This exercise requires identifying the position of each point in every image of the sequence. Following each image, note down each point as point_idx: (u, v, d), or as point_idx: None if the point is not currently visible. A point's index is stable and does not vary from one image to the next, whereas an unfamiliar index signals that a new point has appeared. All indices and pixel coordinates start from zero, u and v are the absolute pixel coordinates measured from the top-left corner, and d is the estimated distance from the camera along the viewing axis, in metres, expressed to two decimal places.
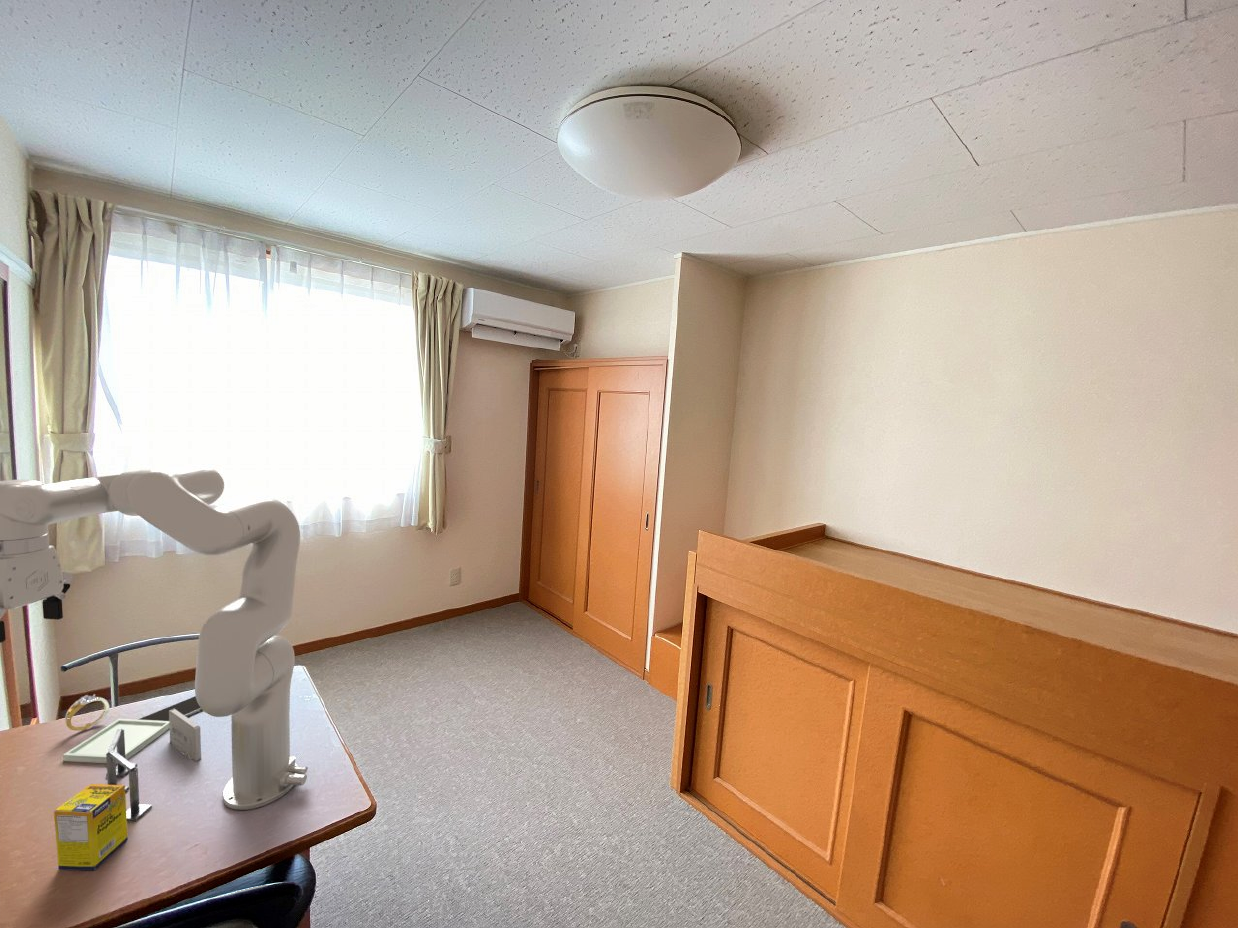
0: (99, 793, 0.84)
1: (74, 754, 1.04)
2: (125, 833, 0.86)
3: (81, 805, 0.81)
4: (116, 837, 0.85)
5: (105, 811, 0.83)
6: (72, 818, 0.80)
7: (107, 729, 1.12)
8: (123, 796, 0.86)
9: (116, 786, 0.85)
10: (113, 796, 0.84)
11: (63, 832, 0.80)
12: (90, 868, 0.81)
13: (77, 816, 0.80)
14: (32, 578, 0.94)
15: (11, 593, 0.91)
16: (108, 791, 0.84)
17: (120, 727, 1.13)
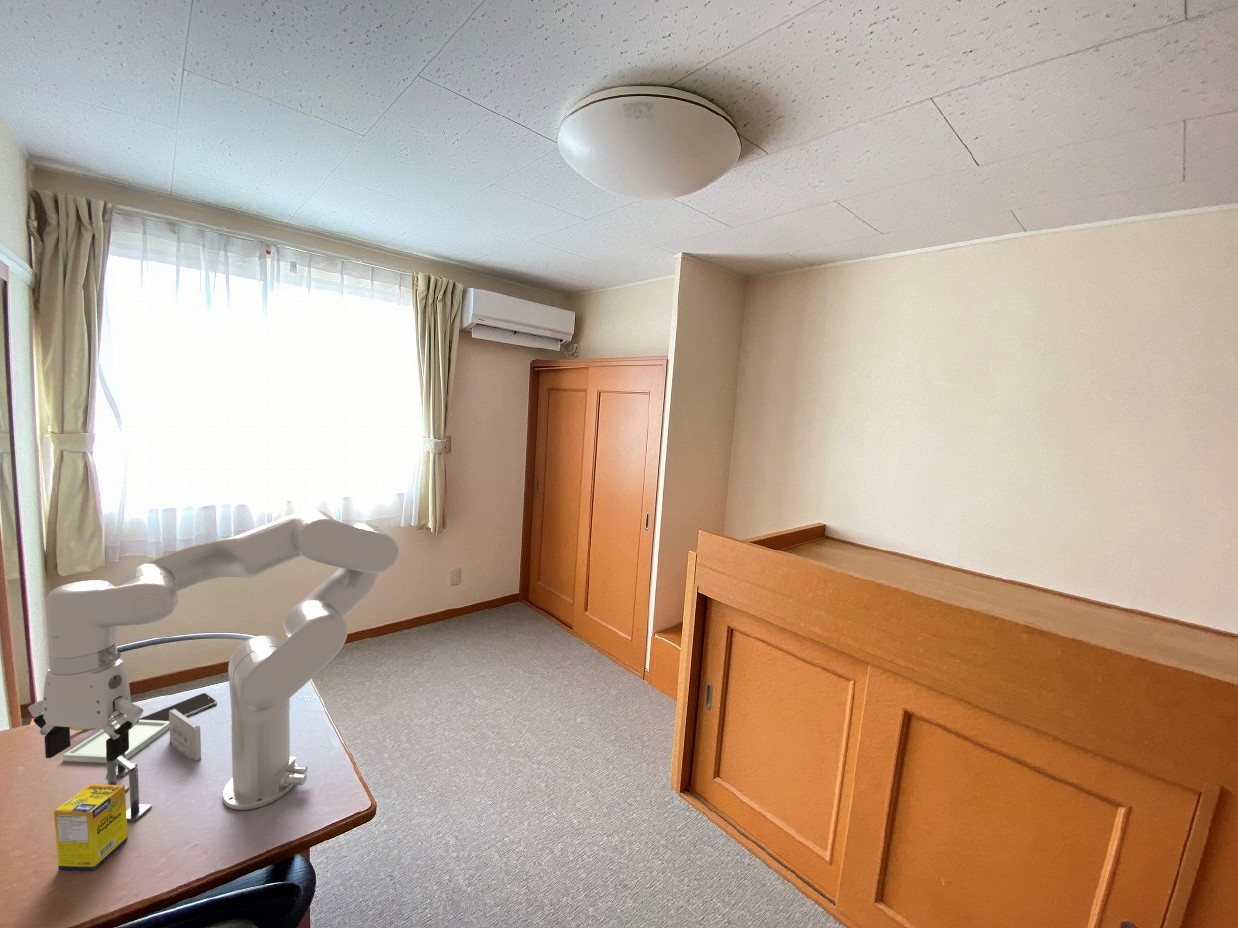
0: (99, 793, 0.84)
1: (74, 754, 1.04)
2: (125, 833, 0.86)
3: (81, 805, 0.81)
4: (116, 837, 0.85)
5: (105, 811, 0.82)
6: (72, 819, 0.80)
7: None
8: (123, 796, 0.86)
9: (116, 786, 0.85)
10: (113, 796, 0.84)
11: (63, 832, 0.80)
12: (90, 868, 0.81)
13: (77, 816, 0.80)
14: None
15: None
16: (108, 791, 0.84)
17: None
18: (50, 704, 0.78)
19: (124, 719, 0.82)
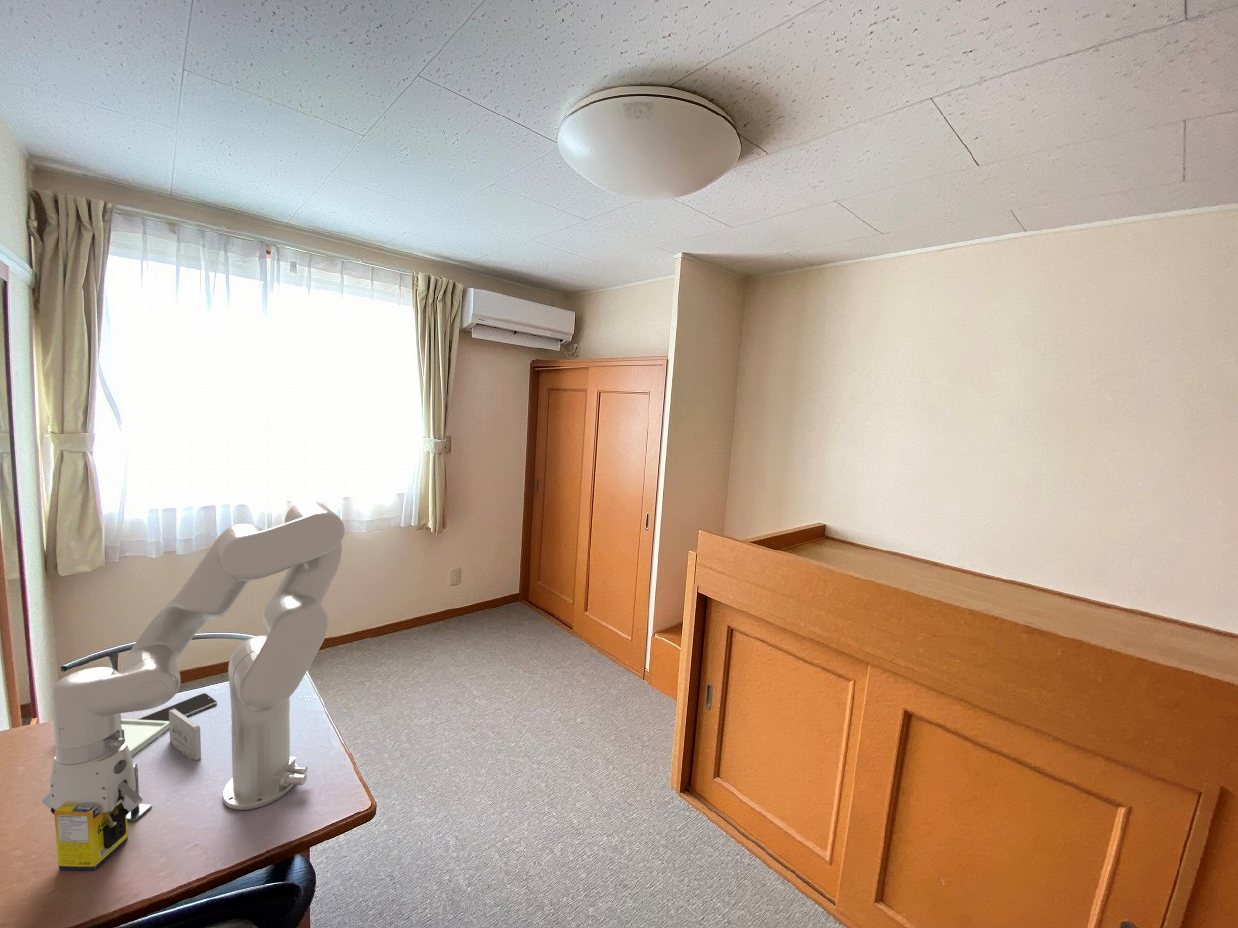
0: None
1: None
2: (125, 833, 0.86)
3: None
4: None
5: None
6: (72, 819, 0.80)
7: None
8: None
9: None
10: None
11: (63, 832, 0.80)
12: (90, 868, 0.81)
13: (77, 816, 0.80)
14: None
15: None
16: None
17: None
18: (57, 791, 0.80)
19: (123, 805, 0.84)
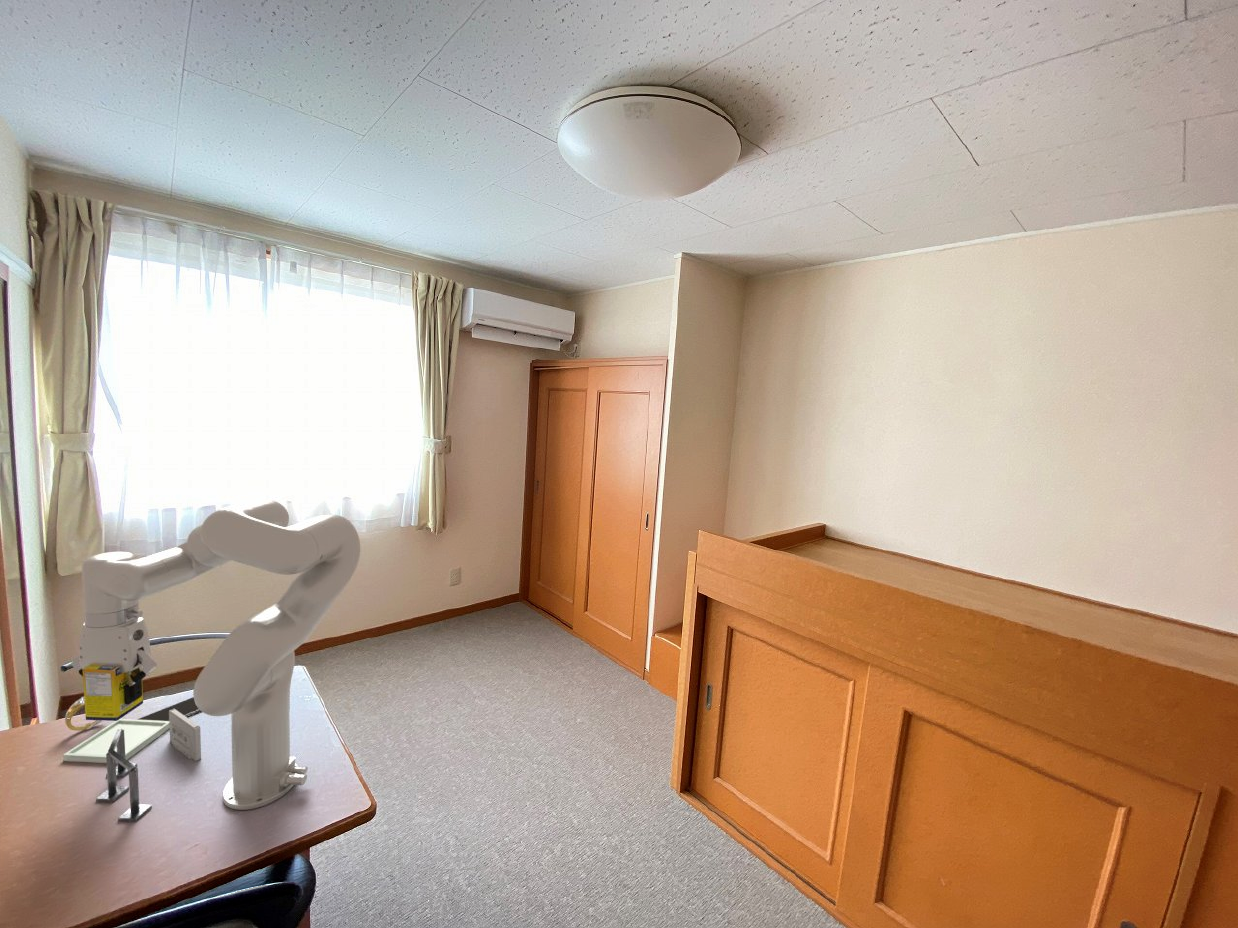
0: None
1: (74, 754, 1.04)
2: (141, 697, 1.02)
3: None
4: None
5: None
6: (98, 675, 0.95)
7: (107, 729, 1.12)
8: None
9: None
10: None
11: (90, 687, 0.95)
12: (113, 719, 0.96)
13: (102, 673, 0.95)
14: None
15: None
16: None
17: (120, 727, 1.13)
18: (85, 653, 0.95)
19: (140, 670, 1.00)
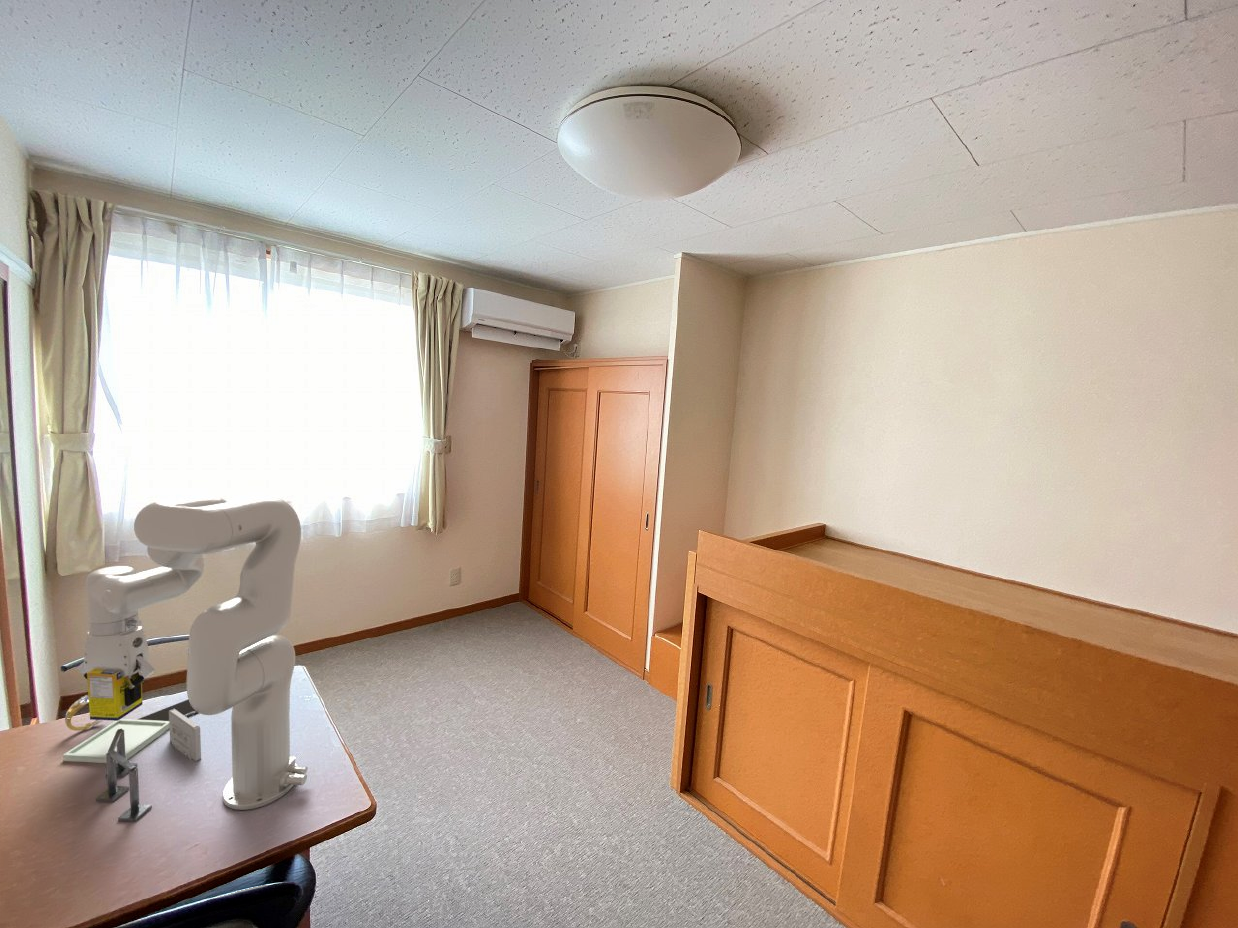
0: None
1: (74, 754, 1.04)
2: None
3: None
4: None
5: None
6: (101, 679, 1.04)
7: (107, 729, 1.12)
8: None
9: None
10: None
11: (94, 690, 1.05)
12: (114, 719, 1.05)
13: (105, 677, 1.04)
14: None
15: None
16: None
17: (120, 727, 1.13)
18: (89, 658, 1.05)
19: (140, 674, 1.09)
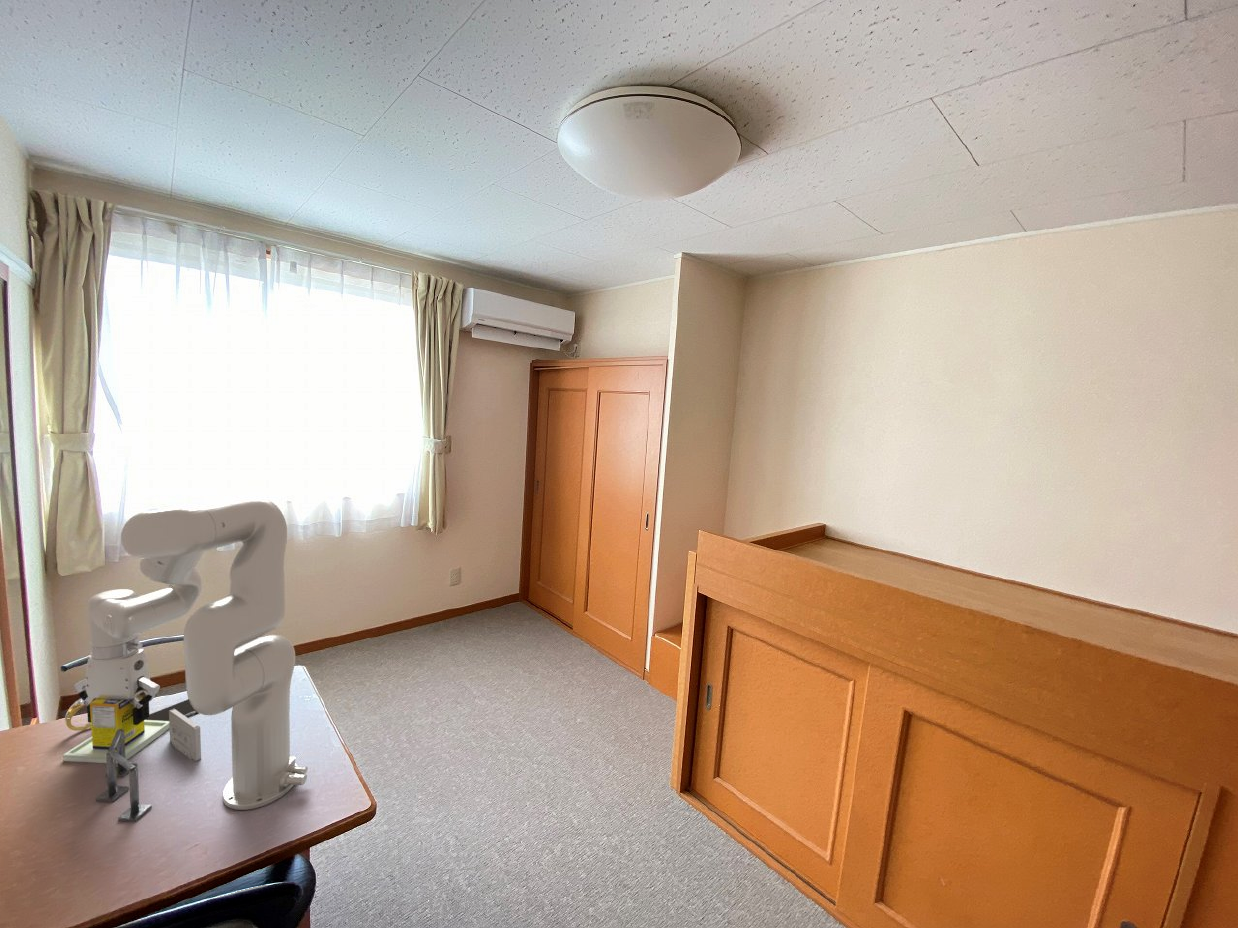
0: None
1: (74, 754, 1.04)
2: (143, 726, 1.11)
3: (110, 699, 1.06)
4: (136, 728, 1.10)
5: (127, 705, 1.07)
6: (103, 709, 1.05)
7: None
8: (141, 697, 1.11)
9: None
10: None
11: (96, 719, 1.05)
12: (116, 748, 1.06)
13: (107, 707, 1.05)
14: None
15: None
16: None
17: None
18: (91, 682, 1.05)
19: (145, 693, 1.09)
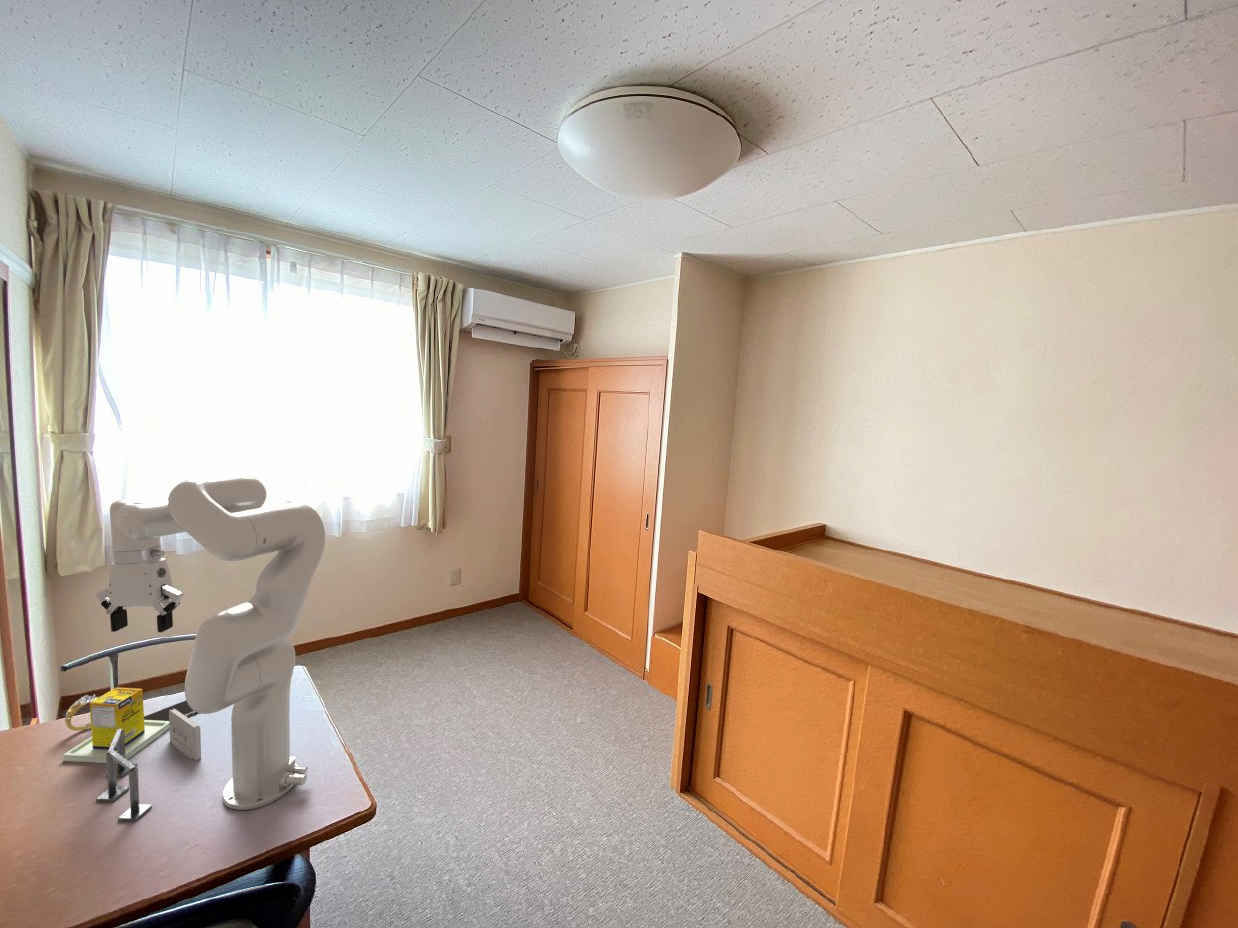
0: (123, 693, 1.09)
1: (74, 754, 1.04)
2: (143, 726, 1.11)
3: (110, 699, 1.06)
4: (136, 728, 1.10)
5: (127, 705, 1.07)
6: (103, 709, 1.05)
7: None
8: (141, 697, 1.11)
9: (136, 689, 1.10)
10: (134, 695, 1.09)
11: (96, 719, 1.05)
12: (116, 748, 1.06)
13: (107, 707, 1.05)
14: None
15: None
16: (130, 692, 1.09)
17: None
18: (114, 588, 1.06)
19: (169, 602, 1.10)
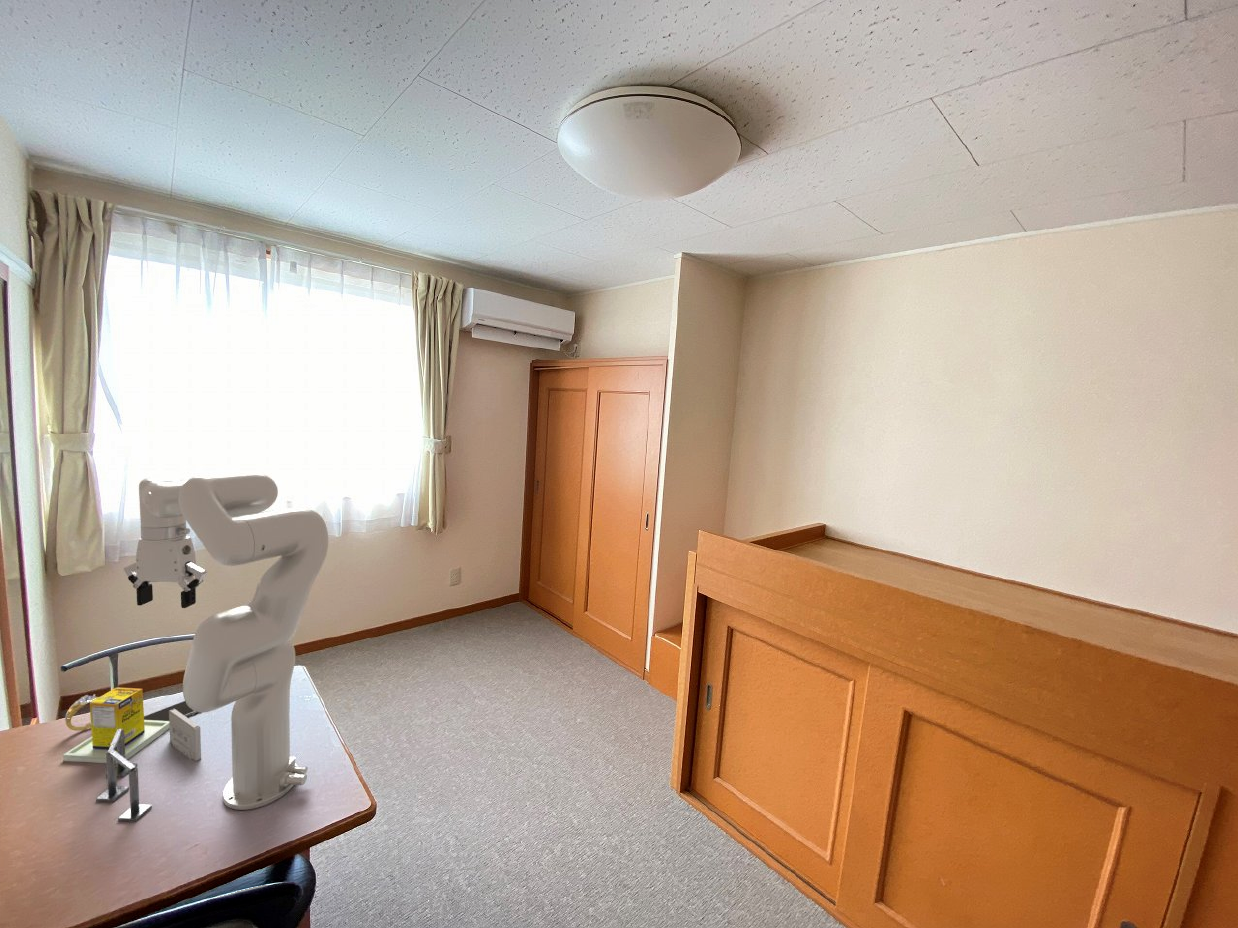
0: (123, 693, 1.09)
1: (74, 754, 1.04)
2: (143, 726, 1.11)
3: (110, 699, 1.06)
4: (136, 728, 1.10)
5: (127, 705, 1.07)
6: (103, 709, 1.05)
7: None
8: (141, 697, 1.11)
9: (136, 689, 1.10)
10: (134, 695, 1.09)
11: (96, 719, 1.05)
12: (116, 748, 1.06)
13: (107, 707, 1.05)
14: None
15: None
16: (130, 692, 1.09)
17: None
18: (141, 564, 1.08)
19: (192, 579, 1.12)
